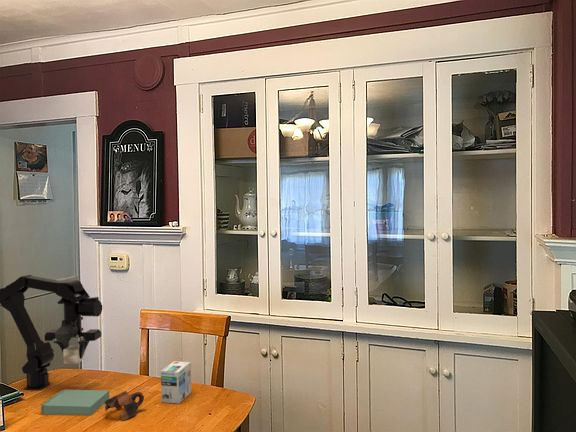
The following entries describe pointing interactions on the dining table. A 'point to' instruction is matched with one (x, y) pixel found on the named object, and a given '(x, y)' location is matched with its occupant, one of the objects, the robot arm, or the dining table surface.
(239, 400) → the dining table surface
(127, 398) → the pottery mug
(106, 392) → the green book
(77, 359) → the wooden cube
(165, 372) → the light bulb box
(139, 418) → the dining table surface
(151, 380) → the dining table surface
